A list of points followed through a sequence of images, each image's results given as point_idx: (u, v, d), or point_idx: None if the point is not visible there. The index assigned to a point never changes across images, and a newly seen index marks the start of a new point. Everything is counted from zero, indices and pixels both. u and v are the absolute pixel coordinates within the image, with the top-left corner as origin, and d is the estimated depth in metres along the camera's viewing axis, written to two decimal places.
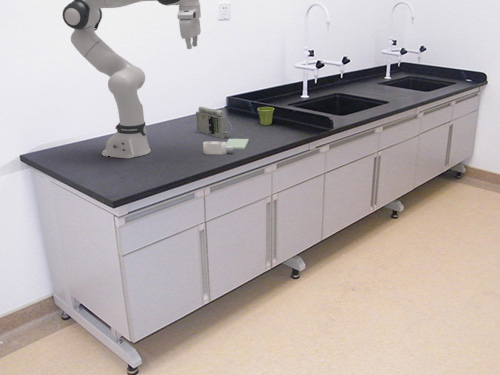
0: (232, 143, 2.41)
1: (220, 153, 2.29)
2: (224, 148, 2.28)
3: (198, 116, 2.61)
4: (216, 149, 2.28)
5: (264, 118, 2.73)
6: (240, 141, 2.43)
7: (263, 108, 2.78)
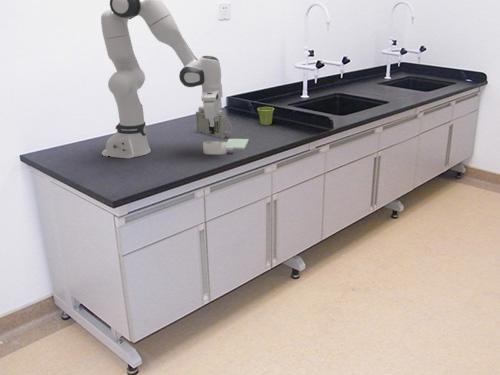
0: (232, 143, 2.41)
1: (220, 153, 2.29)
2: (224, 148, 2.28)
3: (198, 116, 2.61)
4: (216, 149, 2.28)
5: (264, 118, 2.73)
6: (240, 141, 2.43)
7: (263, 108, 2.78)
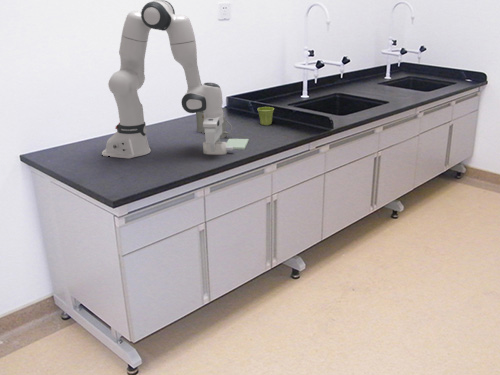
0: (232, 143, 2.41)
1: (220, 153, 2.29)
2: (224, 148, 2.28)
3: (198, 116, 2.61)
4: (216, 149, 2.28)
5: (264, 118, 2.73)
6: (240, 141, 2.43)
7: (263, 108, 2.78)
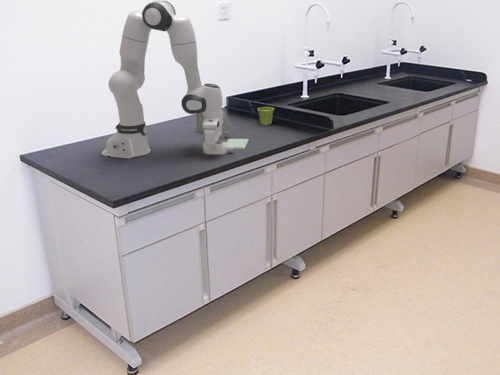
0: (232, 143, 2.41)
1: (220, 153, 2.29)
2: (224, 148, 2.28)
3: (198, 116, 2.61)
4: (216, 149, 2.28)
5: (264, 118, 2.73)
6: (240, 141, 2.43)
7: (263, 108, 2.78)
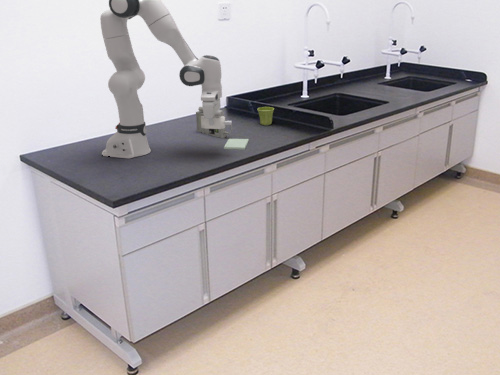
0: (232, 143, 2.41)
1: (218, 127, 2.24)
2: (222, 122, 2.23)
3: (198, 116, 2.61)
4: (214, 123, 2.24)
5: (264, 118, 2.73)
6: (240, 141, 2.43)
7: (263, 108, 2.78)
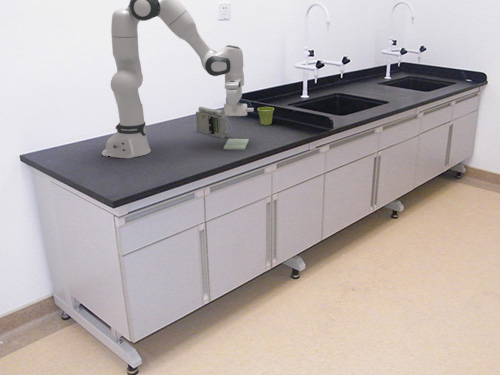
0: (232, 143, 2.41)
1: (241, 114, 2.34)
2: (245, 109, 2.33)
3: (198, 116, 2.61)
4: (237, 110, 2.33)
5: (264, 118, 2.73)
6: (240, 141, 2.43)
7: (263, 108, 2.78)
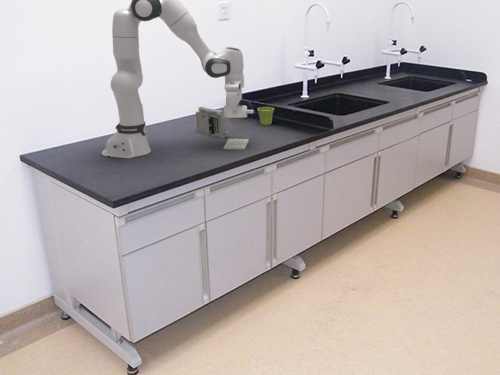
0: (232, 143, 2.41)
1: (240, 116, 2.34)
2: (245, 111, 2.33)
3: (198, 116, 2.61)
4: (237, 112, 2.34)
5: (264, 118, 2.73)
6: (240, 141, 2.43)
7: (263, 108, 2.78)
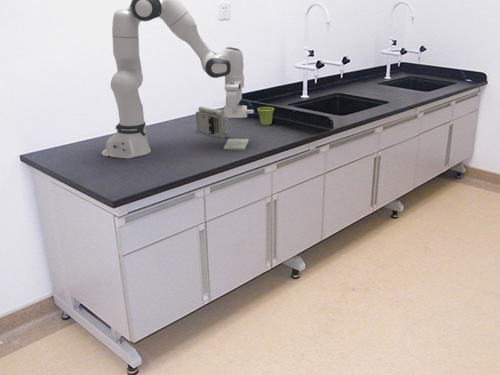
0: (232, 143, 2.41)
1: (240, 116, 2.34)
2: (245, 111, 2.33)
3: (198, 116, 2.61)
4: (237, 112, 2.34)
5: (264, 118, 2.73)
6: (240, 141, 2.43)
7: (263, 108, 2.78)
